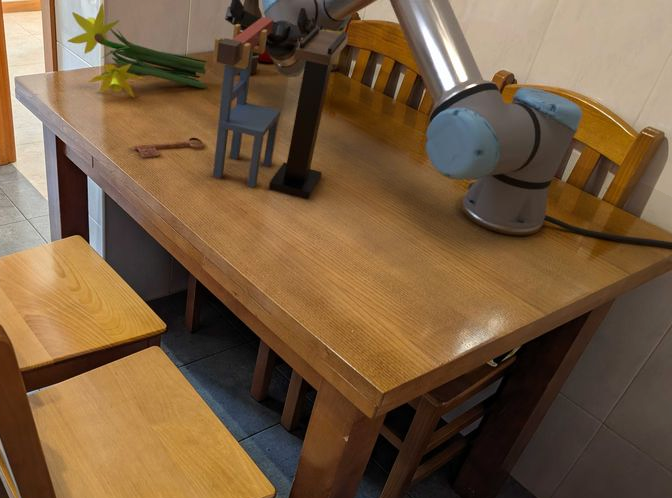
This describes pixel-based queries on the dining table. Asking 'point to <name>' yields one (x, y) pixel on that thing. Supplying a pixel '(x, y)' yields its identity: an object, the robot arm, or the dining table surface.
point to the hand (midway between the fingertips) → (266, 8)
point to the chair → (243, 113)
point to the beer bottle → (252, 7)
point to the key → (153, 146)
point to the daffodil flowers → (135, 58)
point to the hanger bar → (242, 42)
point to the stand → (308, 112)
